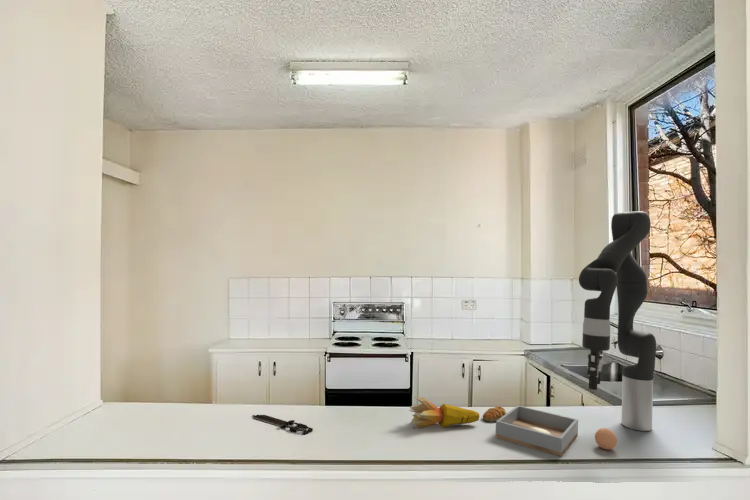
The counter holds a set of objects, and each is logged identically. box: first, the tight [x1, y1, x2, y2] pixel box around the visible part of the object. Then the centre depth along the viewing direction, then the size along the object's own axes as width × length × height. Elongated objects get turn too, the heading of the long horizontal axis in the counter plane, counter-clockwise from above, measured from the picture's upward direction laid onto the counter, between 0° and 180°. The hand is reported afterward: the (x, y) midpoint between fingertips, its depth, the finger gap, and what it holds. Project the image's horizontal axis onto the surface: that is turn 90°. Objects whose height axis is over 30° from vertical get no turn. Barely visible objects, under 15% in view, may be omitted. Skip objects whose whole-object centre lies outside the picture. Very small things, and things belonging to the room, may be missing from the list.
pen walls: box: [495, 404, 579, 453], centre depth 140 cm, size 20×20×4 cm
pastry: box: [482, 406, 508, 423], centre depth 155 cm, size 9×7×4 cm
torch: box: [408, 396, 480, 429], centre depth 147 cm, size 8×8×25 cm
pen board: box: [495, 418, 579, 457], centre depth 140 cm, size 20×20×1 cm
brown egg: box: [594, 427, 618, 450], centre depth 133 cm, size 6×6×6 cm
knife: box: [252, 414, 314, 436], centre depth 145 cm, size 25×6×1 cm, turn 54°
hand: (594, 386), depth 132 cm, fingers open, 8 cm apart
